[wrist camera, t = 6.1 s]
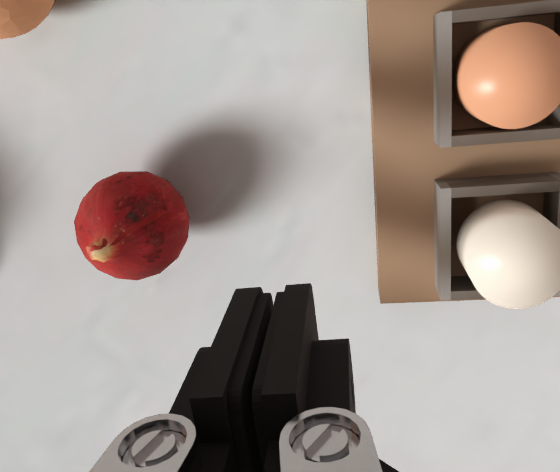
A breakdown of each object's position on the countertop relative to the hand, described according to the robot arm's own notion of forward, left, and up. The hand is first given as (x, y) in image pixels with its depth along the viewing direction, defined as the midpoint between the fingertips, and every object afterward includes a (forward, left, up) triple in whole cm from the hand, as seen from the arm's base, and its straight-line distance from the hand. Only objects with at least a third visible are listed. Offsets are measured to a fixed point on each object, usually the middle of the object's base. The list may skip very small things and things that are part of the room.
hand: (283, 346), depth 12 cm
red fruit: (+2, -10, -20) cm, 22 cm away
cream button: (+4, +9, -16) cm, 19 cm away
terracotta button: (-4, +9, -18) cm, 20 cm away
